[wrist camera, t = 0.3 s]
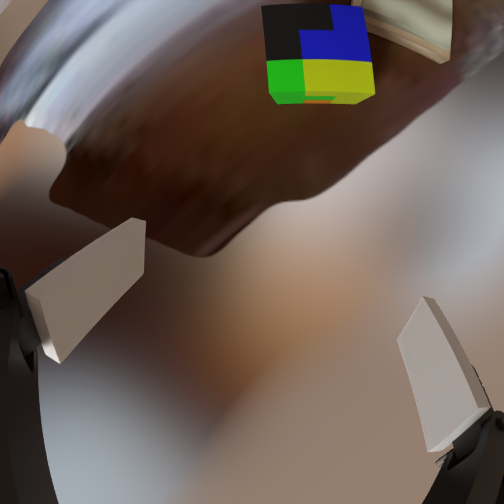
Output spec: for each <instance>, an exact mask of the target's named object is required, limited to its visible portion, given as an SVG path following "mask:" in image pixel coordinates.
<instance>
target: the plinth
mask: <svg viewBox="0 0 504 504" xmlns="http://www.w3.org/2000/svg"><path fill="white" fill-rule="evenodd" d="M351 6H359V7H362V8H363V13H364V18H365V23H366V28H367V32H370V33H372V34H375V35H378V36H380V37H383V38H386V39H388V40H391V41H393V42H395V43H398V44H400V45H402V46H405V47H407V48H409V49H411V50H413V51H415V52H418V53H420V54H422V55H424V56H426V57H428V58H430V59H431V60H433V61H435V62H437V63H439V64H441V63H444V62H446V61H449V59H450V49H451V36H452V0H352V2H351Z"/></svg>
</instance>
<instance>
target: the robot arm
mask: <svg viewBox="0 0 504 504" xmlns="http://www.w3.org/2000/svg"><path fill="white" fill-rule="evenodd" d="M145 228H146V221H143V220H139V219H135V218H131V219H129V220H127V221H126V222H124V223H122V224H121V225H119V226H117V227H116V228H114V229H113V230H111V231H109V232H108V233H106V234H105V235H103V236H101V237H100V238H98V239H97V240H95V241H94V242H92V243H91V244H89V245H88V246H86V247H85V248H83V249H82V250H80V251H79V252H77V253H76V254H75V255H73V256H71V257H66V258H63V259H61V260H58V261H56V262H55V263H53V264H52V265H50V266H49V267H48V269H47V268H46V269H45V270H43V271H42V272H41V274H38V275H36V276H35V277H34V278H32V279H31V280H30V281H28V282H27V283H26V284H24V285H23V286H22V287H21V288H19V289H18V290H16V287H15V283H14V279H13V275H12V272H11V270H10V269H9V268H7V267H0V504H58V500H57V497H56V494H55V490H54V486H53V483H52V479H51V474H50V470H49V466H48V461H47V456H46V451H45V445H44V438H43V432H42V424H41V416H40V404H39V388H38V353H37V349H36V348H37V346H38V345H39V344H40V343H41V344H42V346H43V349H44V351H45V354H46V355H48V356H49V357H50V358H52V359H54V360H55V361H57V362H58V363H62V362H63V360H64V359H65V358H66V357H67V356H68V355H69V353H70V352H71V351H72V350H73V349H74V347H75V346H76V345H77V344H78V343H79V342H80V341H81V340H82V338H83V337H84V336H85V335H86V334H87V333H88V332H89V331H90V329H91V328H92V327H93V326H94V325H95V324H96V323H97V322H98V321H99V320H100V319H101V317H102V316H103V315H104V314H105V313H106V312H107V311H108V310H109V309H110V308H111V307H112V306H113V305H114V304H115V302H116V301H117V300H118V299H119V298H120V297H121V296H122V295H123V294H124V293H125V292H126V291H127V290H128V289H129V288H130V287H131V286H132V285H133V284H134V283H135V282H136V281H137V280H138V279H139V278H140V277H141V275H143V273H144V247H145ZM397 342H398V345H399V348H400V351H401V354H402V357H403V360H404V363H405V366H406V370H407V373H408V376H409V379H410V383H411V386H412V390H413V393H414V397H415V400H416V404H417V408H418V412H419V416H420V420H421V423H422V428H423V433H424V437H425V442H426V447H427V452H435V451H441V450H443V449H444V448H446V447H447V446H448V445H449V444H450V443H453V447H454V448H453V449H451V450H450V451H449V452H447V453H446V454H445V455H444V456H442V457H441V458H439V459H438V460H437V461H436V462H435V464H438V463H439V462H441V461H442V460H444V463H442V464H441V465H440V466H439V467H440V468H441V469H440V471H439V473H438V475H437V477H436V479H435V481H434V483H433V485H432V487H431V489H430V491H429V492H428V494H427V496H426V498H425V499H424V501H423V503H422V504H504V413H503V412H501V411H495V412H494V410H493V408H492V406H491V403H490V401H489V398H488V396H487V394H486V392H485V389H484V387H483V386H482V383H481V381H480V379H478V378H479V377H478V374H477V372H476V370H475V369H474V367H473V366H472V365H471V363H470V361H469V359H468V357H467V355H466V353H465V351H464V349H463V348H462V346H461V344H460V342H459V340H458V338H457V337H456V335H455V333H454V331H453V329H452V328H451V326H450V324H449V323H448V321H447V319H446V318H445V316H444V315H443V313H442V311H441V309H440V308H439V306H438V305H437V303H436V301H435V300H434V299H432V298H428V297H425V296H422V298H421V299H420V301H419V303H418V305H417V307H416V309H415V310H414V312H413V314H412V316H411V317H410V319H409V321H408V322H407V324H406V326H405V327H404V329H403V331H402V332H401V334H400V335H399V337H398V339H397Z"/></svg>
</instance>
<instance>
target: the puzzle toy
mask: <svg viewBox="0 0 504 504" xmlns="http://www.w3.org/2000/svg"><path fill="white" fill-rule="evenodd" d="M261 9H262V18H263V28H264V37H265V48H266V59H267V70H268V82H269V93H270V94H271V96H272V97H273V99H274V100H275V101H276V103H277V104H292V103H338V104H357V103H358V102H360V101H362V100H364V99H366V98H368V97H370V96H372V95H374V94H375V88H374V78H373V69H372V61H371V53H370V46H369V40H368V34H367V28H366V23H365V18H364V13H363V8H362V7H359V6H349V5H335V4H280V5H266V6H261Z"/></svg>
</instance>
